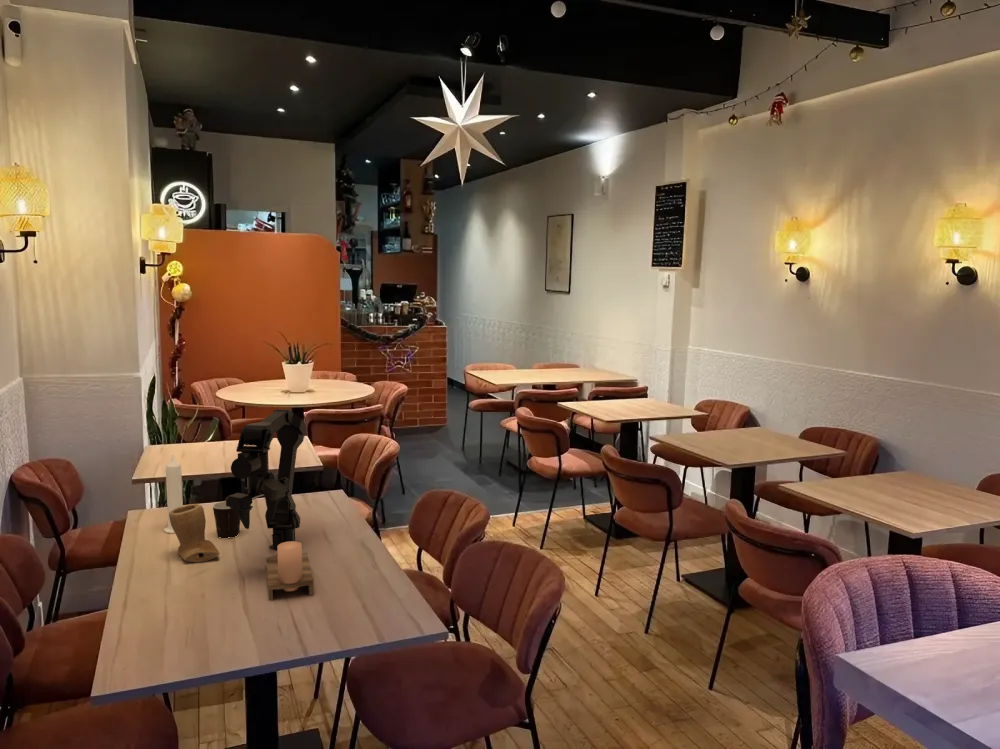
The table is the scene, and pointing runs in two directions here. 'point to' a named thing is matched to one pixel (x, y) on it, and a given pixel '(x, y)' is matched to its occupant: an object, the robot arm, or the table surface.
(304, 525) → the table surface
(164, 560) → the table surface
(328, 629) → the table surface
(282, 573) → the terracotta peg
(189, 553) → the stone cup
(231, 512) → the coffee mug
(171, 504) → the candle
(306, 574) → the walnut keyhole board
